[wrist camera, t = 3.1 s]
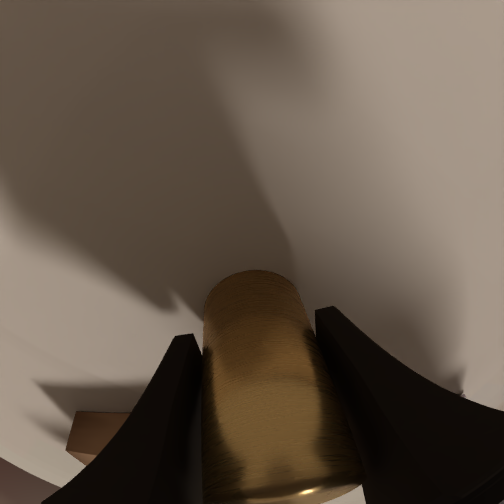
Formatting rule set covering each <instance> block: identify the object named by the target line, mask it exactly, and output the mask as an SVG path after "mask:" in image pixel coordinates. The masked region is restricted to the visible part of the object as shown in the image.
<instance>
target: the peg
mask: <svg viewBox="0 0 504 504" xmlns="http://www.w3.org/2000/svg"><path fill="white" fill-rule="evenodd" d="M201 456H202V495H203V504H321V503H324V502H327V501H330V500H332V499H335V498H337V497H340V496H342V495H344V494H346V493H348V492H350V491H352V490H353V489H355V488H357V487H358V486H360V485H361V484H362V483H363V482H364V481H365V480H366V478H367V475H366V472H365V469H364V466H363V463H362V460H361V457H360V454H359V452H358V449H357V446H356V443H355V440H354V437H353V435H352V432H351V429H350V426H349V424H348V421H347V418H346V415H345V413H344V410H343V407H342V405H341V402H340V399H339V397H338V394H337V391H336V389H335V386H334V383H333V381H332V378H331V375H330V373H329V370H328V367H327V365H326V362H325V360H324V357H323V354H322V352H321V349H320V347H319V344H318V342H317V339H316V337H315V334H314V331H313V329H312V326H311V324H310V321H309V319H308V316H307V314H306V311H305V309H304V306H303V304H302V301H301V299H300V297H299V294H298V292H297V290H296V288H295V287H294V286H293V285H292V283H290V282H289V281H288V280H287V279H285V278H284V277H282V276H280V275H278V274H275V273H272V272H268V271H261V270H251V271H244V272H240V273H237V274H234V275H231V276H229V277H227V278H225V279H224V280H222V281H221V282H220V283H218V284H217V285H216V286H215V287H214V288H213V290H212V291H211V292H210V294H209V295H208V297H207V300H206V303H205V308H204V327H203V353H202V396H201Z"/></svg>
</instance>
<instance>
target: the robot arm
mask: <svg viewBox="0 0 504 504" xmlns="http://www.w3.org/2000/svg"><path fill="white" fill-rule="evenodd" d="M315 323H316V339H317V342H318V344H319V347H320V349H321V352H322V354H323V357H324V360H325V362H326V365H327V367H328V370H329V373H330V375H331V378H332V381H333V383H334V386H335V389H336V391H337V394H338V397H339V399H340V402H341V405H342V407H343V410H344V413H345V415H346V418H347V421H348V424H349V426H350V429H351V432H352V435H353V437H354V440H355V443H356V446H357V449H358V452H359V454H360V457H361V460H362V463H363V466H364V469H365V472H366V475H367V478H366V480H365V481H364V482H363V483H362V487H363V492H364V496H365V501H366V504H504V411H501V410H497V409H493V408H490V407H487V406H484V405H481V404H479V403H476V402H473V401H470V400H468V399H466V396H465V394H463V395H461V396H459V395H457V394H455V393H453V392H450V391H448V390H446V389H444V388H442V387H440V386H438V385H437V384H435V383H433V382H431V381H429V380H428V379H426V378H424V377H423V376H421V375H419V374H418V373H416V372H414V371H413V370H411V369H410V368H408V367H407V366H405V365H404V364H403V363H401V362H400V361H398V360H397V359H396V358H394V357H393V356H392V355H390V354H389V353H388V352H386V351H385V350H384V349H382V348H381V347H380V346H379V345H377V344H376V343H375V342H374V341H373V340H371V339H370V338H369V337H368V336H367V335H365V334H364V333H363V332H362V331H361V330H360V329H359V328H357V327H356V326H355V325H354V324H353V323H352V322H351V321H350V320H349V319H348V318H346V317H345V316H344V315H343V314H342V313H341V312H340V311H339V310H338V309H337V308H336V307H334V306H330V307H326V308H321V309H317V310H315ZM201 396H202V354H201V351H200V349H199V347H198V344H197V342H196V339H195V337H194V334H193V333H192V334H185V335H178V336H175V337H174V338H173V340H172V342H171V344H170V346H169V348H168V350H167V351H166V353H165V355H164V357H163V359H162V361H161V363H160V365H159V367H158V368H157V370H156V372H155V374H154V376H153V377H152V379H151V381H150V383H149V384H148V386H147V388H146V390H145V391H144V393H143V394H142V396H141V398H140V399H139V401H138V402H137V404H136V406H135V407H134V409H133V410H132V412H131V413H130V415H129V416H128V418H127V419H126V421H125V422H124V423H123V425H122V426H121V427H120V429H119V430H118V431H117V433H116V434H115V435H114V436H113V438H112V439H111V440H110V441H109V442H108V444H107V445H106V446H105V447H104V448H103V449H102V451H101V452H100V453H99V454H98V455H97V456H96V457H95V458H94V459H93V460H92V461H91V462H90V463H89V464H88V465H87V466H86V467H85V468H84V469H83V470H82V471H81V472H80V473H79V474H78V475H76V476H75V477H74V478H73V479H72V480H71V481H70V482H68V483H67V484H66V485H65V486H63V487H62V488H61V489H59V490H58V491H56V492H55V493H54V494H53V495H51V496H50V497H48V498H47V499H45V500H44V501H42V502H41V504H203V495H202V456H201Z"/></svg>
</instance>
